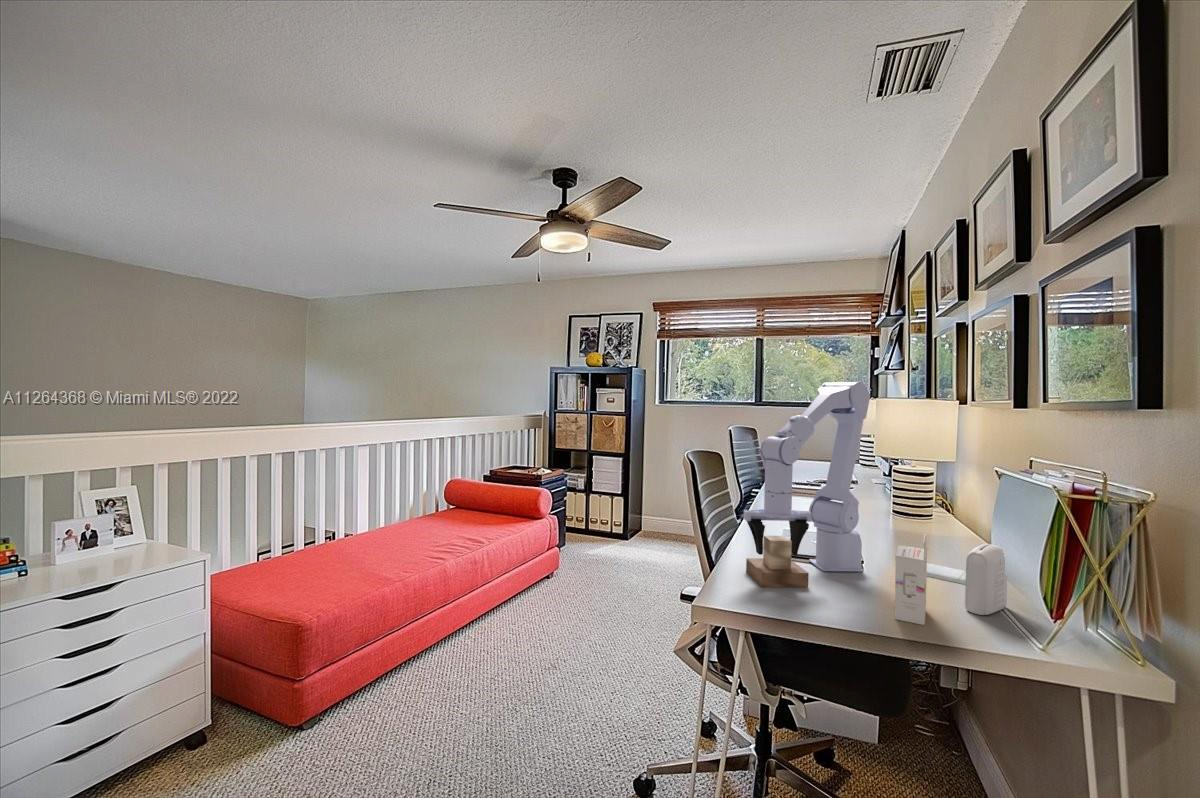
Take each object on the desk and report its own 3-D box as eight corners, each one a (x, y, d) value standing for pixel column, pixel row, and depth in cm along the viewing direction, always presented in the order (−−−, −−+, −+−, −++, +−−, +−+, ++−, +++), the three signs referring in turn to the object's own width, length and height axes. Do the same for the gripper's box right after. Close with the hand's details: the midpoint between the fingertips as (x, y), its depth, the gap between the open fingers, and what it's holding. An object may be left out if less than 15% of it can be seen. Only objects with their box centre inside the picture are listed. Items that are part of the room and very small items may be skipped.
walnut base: (789, 571, 122) (789, 558, 122) (808, 587, 112) (808, 573, 112) (746, 571, 122) (746, 558, 122) (761, 586, 112) (761, 572, 112)
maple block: (782, 562, 119) (783, 535, 119) (790, 569, 115) (791, 541, 115) (763, 562, 119) (763, 535, 119) (770, 568, 115) (770, 540, 115)
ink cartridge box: (895, 604, 104) (897, 529, 104) (925, 610, 101) (927, 533, 101) (893, 619, 97) (895, 538, 97) (925, 626, 94) (927, 542, 94)
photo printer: (984, 600, 107) (986, 538, 107) (1010, 607, 104) (1011, 544, 104) (961, 610, 102) (962, 545, 102) (987, 618, 98) (988, 551, 98)
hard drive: (901, 566, 125) (965, 579, 117) (911, 559, 131) (972, 571, 123) (901, 573, 125) (964, 587, 117) (911, 565, 131) (972, 578, 123)
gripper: (751, 494, 113) (749, 558, 113) (818, 495, 113) (817, 559, 113) (741, 488, 120) (739, 549, 120) (804, 489, 121) (803, 549, 121)
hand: (776, 553), depth 117 cm, fingers open, 7 cm apart
